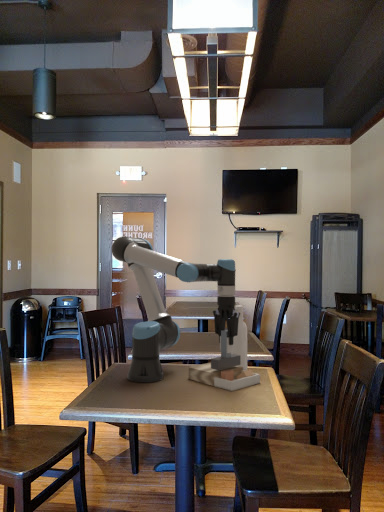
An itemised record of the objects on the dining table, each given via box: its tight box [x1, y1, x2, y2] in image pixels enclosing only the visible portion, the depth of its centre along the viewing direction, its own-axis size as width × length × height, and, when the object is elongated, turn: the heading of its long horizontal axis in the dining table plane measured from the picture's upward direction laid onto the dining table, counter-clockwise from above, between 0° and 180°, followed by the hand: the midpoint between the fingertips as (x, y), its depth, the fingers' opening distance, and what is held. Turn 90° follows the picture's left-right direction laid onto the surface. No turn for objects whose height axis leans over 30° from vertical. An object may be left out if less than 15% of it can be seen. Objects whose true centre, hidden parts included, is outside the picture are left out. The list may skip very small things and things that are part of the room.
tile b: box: [236, 368, 255, 379], centre depth 171 cm, size 5×5×2 cm
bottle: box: [231, 304, 248, 371], centre depth 193 cm, size 8×8×30 cm
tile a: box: [221, 370, 234, 381], centre depth 169 cm, size 5×5×2 cm
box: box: [213, 370, 261, 392], centre depth 170 cm, size 9×18×4 cm, turn 133°
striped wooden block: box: [188, 361, 243, 387], centre depth 178 cm, size 15×18×5 cm
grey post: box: [210, 329, 240, 370], centre depth 175 cm, size 4×14×15 cm, turn 134°
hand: (226, 352), depth 175 cm, fingers closed on grey post, 3 cm apart
